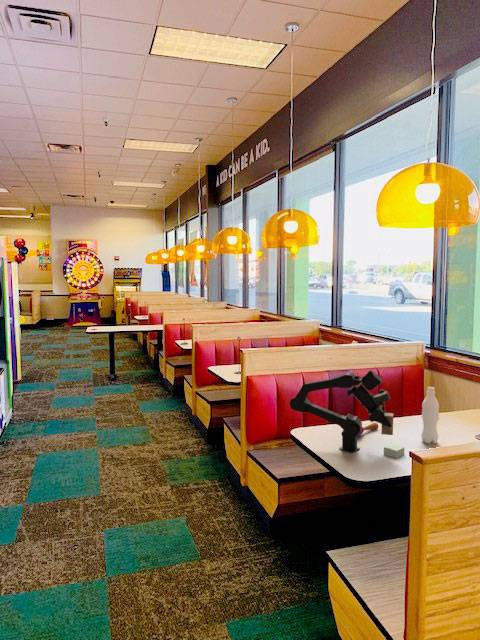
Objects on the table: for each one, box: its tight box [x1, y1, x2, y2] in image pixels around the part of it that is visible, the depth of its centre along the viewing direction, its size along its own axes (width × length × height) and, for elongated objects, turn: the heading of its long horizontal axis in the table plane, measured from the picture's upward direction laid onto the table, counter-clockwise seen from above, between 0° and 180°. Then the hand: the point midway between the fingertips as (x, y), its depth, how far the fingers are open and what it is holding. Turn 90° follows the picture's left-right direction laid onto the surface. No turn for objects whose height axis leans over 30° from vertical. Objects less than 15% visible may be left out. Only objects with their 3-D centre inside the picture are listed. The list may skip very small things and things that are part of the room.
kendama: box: [356, 422, 379, 438], centre depth 229 cm, size 6×6×20 cm
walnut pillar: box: [380, 412, 394, 436], centre depth 203 cm, size 4×4×8 cm
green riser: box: [383, 443, 405, 459], centre depth 203 cm, size 6×6×3 cm
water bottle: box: [420, 386, 440, 445], centre depth 216 cm, size 7×7×25 cm
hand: (390, 425), depth 202 cm, fingers closed on walnut pillar, 4 cm apart
